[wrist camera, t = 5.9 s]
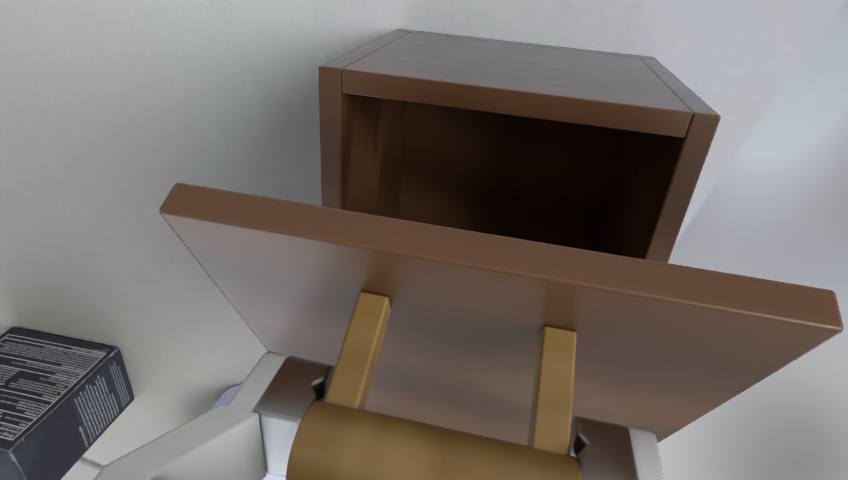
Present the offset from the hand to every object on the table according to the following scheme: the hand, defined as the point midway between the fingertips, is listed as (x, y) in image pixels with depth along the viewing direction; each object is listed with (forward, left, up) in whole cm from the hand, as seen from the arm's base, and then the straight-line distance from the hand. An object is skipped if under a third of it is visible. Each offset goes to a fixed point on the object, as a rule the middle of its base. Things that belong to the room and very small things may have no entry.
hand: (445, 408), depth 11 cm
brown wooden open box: (+2, +2, -20) cm, 20 cm away
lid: (+2, +3, -5) cm, 6 cm away
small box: (+42, -4, -20) cm, 47 cm away
